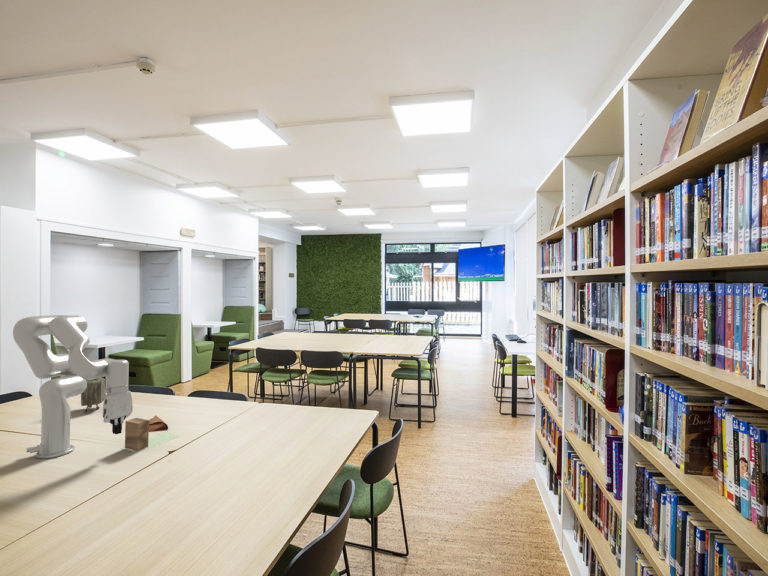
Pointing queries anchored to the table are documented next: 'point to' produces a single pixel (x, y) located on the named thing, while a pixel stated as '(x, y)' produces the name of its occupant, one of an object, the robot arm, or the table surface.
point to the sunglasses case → (157, 424)
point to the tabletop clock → (93, 393)
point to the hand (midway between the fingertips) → (117, 433)
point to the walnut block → (136, 434)
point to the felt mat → (157, 440)
